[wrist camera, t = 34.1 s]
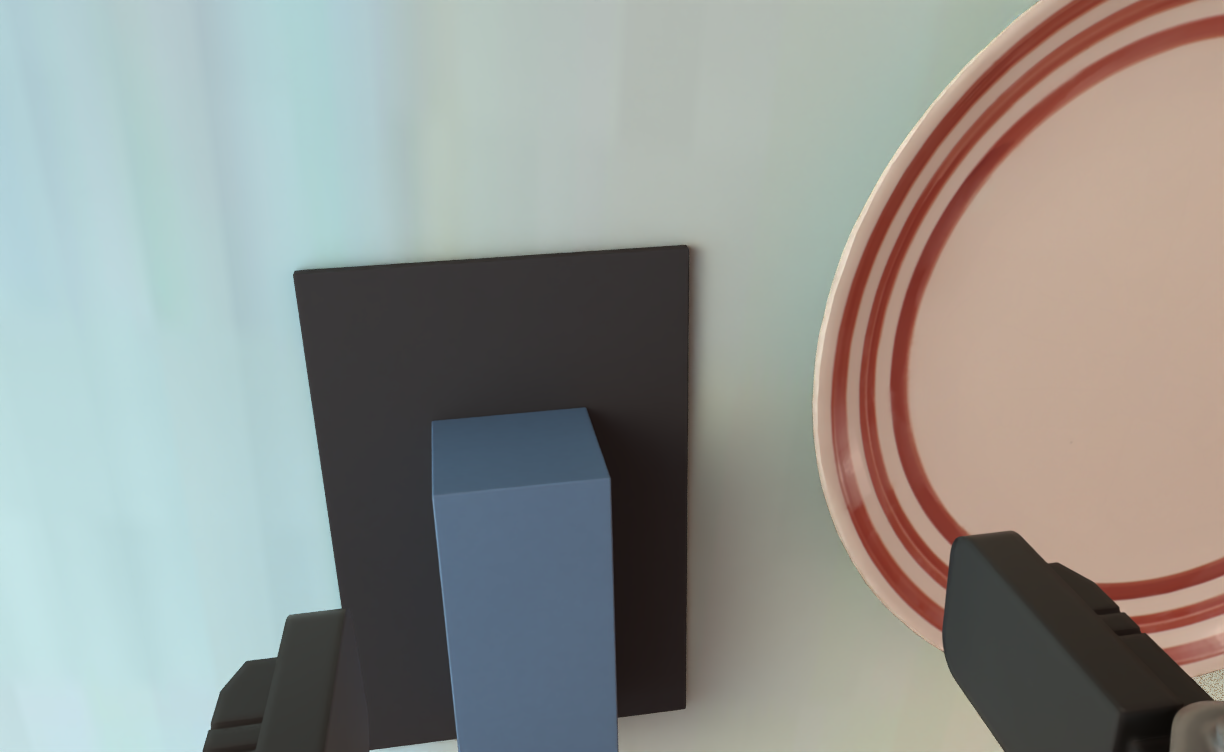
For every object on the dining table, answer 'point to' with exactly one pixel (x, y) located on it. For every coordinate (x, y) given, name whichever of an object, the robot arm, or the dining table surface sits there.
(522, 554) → the blue block
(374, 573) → the mat
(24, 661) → the dining table surface
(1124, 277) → the dinner plate
